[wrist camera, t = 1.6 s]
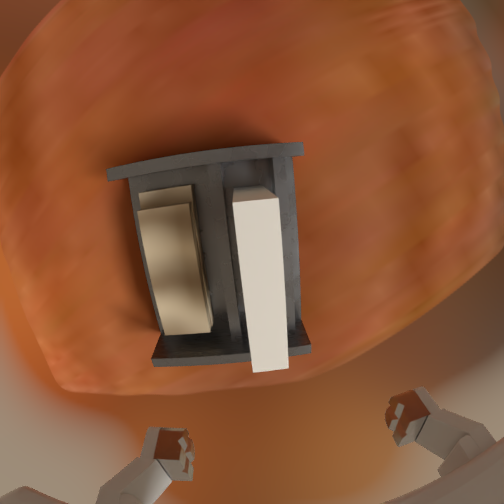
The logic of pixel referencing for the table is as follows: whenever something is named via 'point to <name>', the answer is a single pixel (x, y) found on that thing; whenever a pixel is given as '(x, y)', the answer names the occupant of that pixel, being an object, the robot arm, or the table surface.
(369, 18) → the table surface
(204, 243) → the rack
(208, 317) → the offcut stack
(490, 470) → the robot arm
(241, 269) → the cream slab
